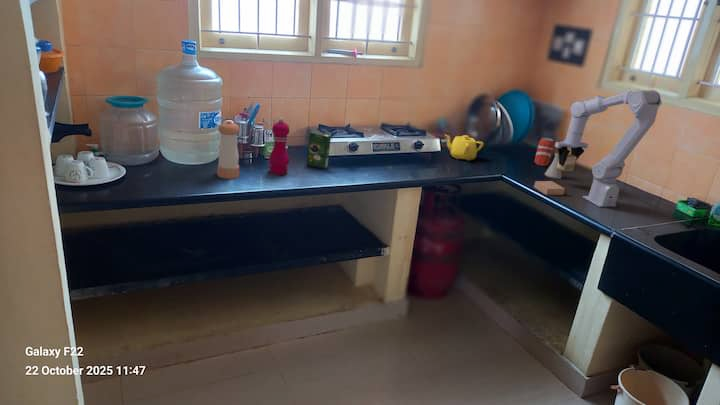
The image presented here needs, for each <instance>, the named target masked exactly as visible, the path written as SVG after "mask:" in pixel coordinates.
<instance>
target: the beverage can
mask: <svg viewBox="0 0 720 405" xmlns="http://www.w3.org/2000/svg"><path fill="white" fill-rule="evenodd" d="M554 141H555V140H554V138H553V139H552V138H550V137H541V138H540V140H539V141H538V145H537V150H536V153H535V158H534V160H533V161H534V163H535V164H536V165H537V166H540V167H547V166H550V160H551V157H552V154H553V150H554V147H555V143H554Z"/></svg>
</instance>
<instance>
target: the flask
mask: <svg viewBox="0 0 720 405" xmlns="http://www.w3.org/2000/svg"><path fill="white" fill-rule="evenodd" d="M558 160H559V153H558V152H555V153H554V159H553V161H552V163H551V164H549V166H548V168H547V170H546V172H544V175H545V176H546V177H547V178H551V179H557V180H558V179H559V180H561V179H562V177H563V175H562V170H561V169H559V168H557V164H558Z"/></svg>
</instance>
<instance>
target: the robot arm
mask: <svg viewBox="0 0 720 405" xmlns="http://www.w3.org/2000/svg"><path fill="white" fill-rule="evenodd" d="M624 104H625V105H628V106H629V109H630V110H631V112H632V114H633V116H634V118H635V120H634V121H633V123H632V124H631V125H630V127H629V128H628V129H627V130H626V132H624V134H623V135H622V137H621V138H620V139H619V141H618V143H617V144H616V145H615V147H614V148H613V149H612V150H611V152H610V153H609V154H607V156H605V157H603V158H601V160H600V161H599V162H597V163H595V164H594V165H593V167H592V169H591V171H592V172H591V173H592V176H593V178H592V179H593V180H592V183H591V187H590V191H589V192H588V193H589V194H588V195H583V196H582V198H583V199H585V200H587V201H589V202H591V203H593V205H596V206H598V207H599V208H602V207H603V208H607V207H617V205H616V202H617V198H618V196H619V192H620V188H619V186H618V185H617V184H616V180H617V179H618V178H620V177H621V175H622V173H623V170H624V168H625V167H626V163H625V161H626V159H627V158H628V157H629V156H630V154H632V152H633V150H634V149H635V148H636V146H637V145H638V144H639V143H640V141H641V140H642V139H643V137H644V136H645V135H646V134H647V132H648V131H649V130H650V129H651V127H652V126H653V125H654V123H655V121H656V117H657V114H658V111H659V108H660V106H661V105H662V99H661V94H660V93H659V92H658V91H657V90H654V89H650V90H649V89H648V90H646V89H645V90H642V89H634V90H628V91H625V92H621V93H619V94H616V95H612V96H608V97H607V98H606V97H605V96H602V95H596V96H594V98H590V99H589V98H588V99H584V101H575V102H574V103H573V104H572V105H571V106H570V114H571V119H570V121H569V126H568V129H567V134H566V137H565V139H564V140H562V141H555V143H554V147H556V149H557V153H559V164H560V165H562V166H563V165H564V163H565V160H566V158H567V156H568V154H569V153H570V154H572V155H574V156H576V157H577V158H576V162H577V160H578V159H579V158H580V156H582V155H583V154H584V153H585V149H588V147H589V143H587V142H583V141H582V139H583V136H584V131H585V128H586V126H587V125H586V124H587V121H588V120H589V118H590V117H591V115H596V114H599V113H603V112H605V111H607V110H608V108H610V107H613V106H618V105H624ZM569 148H570V149H569Z"/></svg>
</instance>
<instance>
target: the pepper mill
mask: <svg viewBox="0 0 720 405" xmlns="http://www.w3.org/2000/svg"><path fill="white" fill-rule="evenodd" d="M271 129H272V130H271V131H272V134H274V135H273V136H272V137H273V138H272V139H273V140H274V142H273V147H272V148H273V149H272V150H271V152H270V154H269V158H268V163H269V164H270V166H269V172H270V173H271V174H273V175H279V176H282V175H286V174H288V165H289V164H290V156H289V154H288V151H287V141H288V138H289V137H288V135H289V134H290V127H289V124H287V123H286V122H285V120H284V118H283V117H280V118H279V119H278V122H275V123H274V124H273V125H272V128H271Z"/></svg>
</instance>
